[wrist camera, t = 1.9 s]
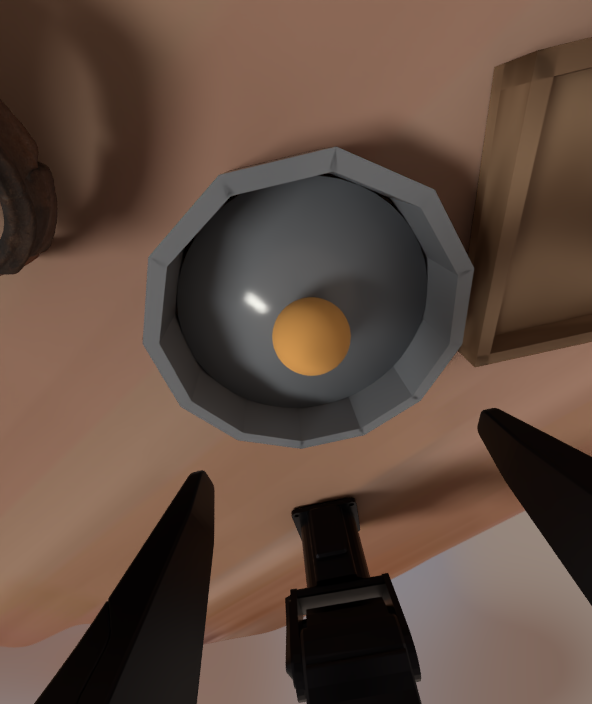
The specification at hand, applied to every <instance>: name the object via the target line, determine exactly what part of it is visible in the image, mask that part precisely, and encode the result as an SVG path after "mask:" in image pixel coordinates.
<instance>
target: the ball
mask: <svg viewBox="0 0 592 704" xmlns="http://www.w3.org/2000/svg"><path fill="white" fill-rule="evenodd" d="M350 340H351V332H350V326H349V324H348V321H347V319H346V317H345V315H344V314H343V312H342V311H341V310H340V309H339V308H338V307H337V306H336V305H334V304H333V303H331V302H329V301H327V300H324V299H321V298H316V297H307V298H302V299H298V300H296V301H294V302H292V303H290V304H289V305H288V306H286V307H285V308H284V309H283V310H282V311H281V313H280V314H279V315H278V317H277V319H276V321H275V324H274V327H273V333H272V341H273V346H274V350H275V352H276V354H277V356H278V358H279V359H280V361H281V362H282V363H283V364H284V365H285V366H286V367H287V368H289V369H290V370H292V371H294V372H296V373H298V374H302V375H307V376H316V375H321V374H325V373H327V372H329V371H331V370H333V369H334V368H336V367H337V366H338V365H339V364H340V363H341V362H342V360H343V359H344V358H345V356H346V354H347V352H348V349H349V346H350Z"/></svg>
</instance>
